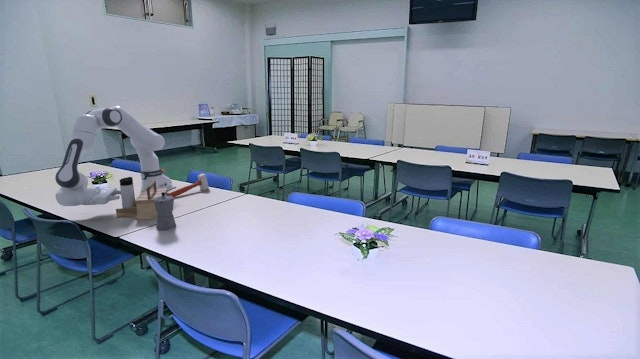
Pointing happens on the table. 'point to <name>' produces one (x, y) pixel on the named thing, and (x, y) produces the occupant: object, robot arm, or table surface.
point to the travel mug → (127, 192)
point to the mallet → (192, 186)
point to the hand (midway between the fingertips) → (121, 194)
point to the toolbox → (143, 204)
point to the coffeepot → (164, 212)
